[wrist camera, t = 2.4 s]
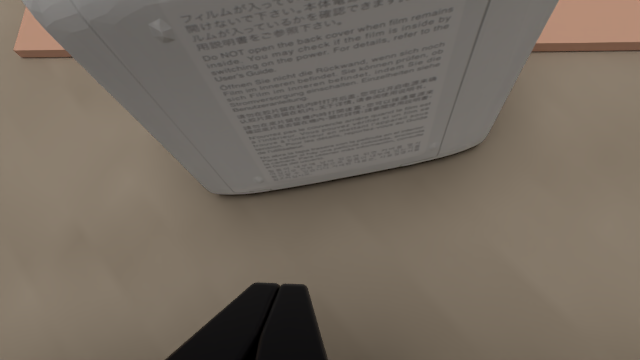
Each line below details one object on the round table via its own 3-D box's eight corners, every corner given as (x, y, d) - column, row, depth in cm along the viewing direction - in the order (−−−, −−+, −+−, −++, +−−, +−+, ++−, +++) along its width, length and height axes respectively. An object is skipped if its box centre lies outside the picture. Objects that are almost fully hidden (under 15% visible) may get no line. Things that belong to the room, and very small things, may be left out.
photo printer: (468, 47, 18) (630, -501, 6) (502, 154, 17) (791, -301, 5) (193, 103, 19) (-117, -310, 7) (203, 213, 17) (-165, -78, 6)
